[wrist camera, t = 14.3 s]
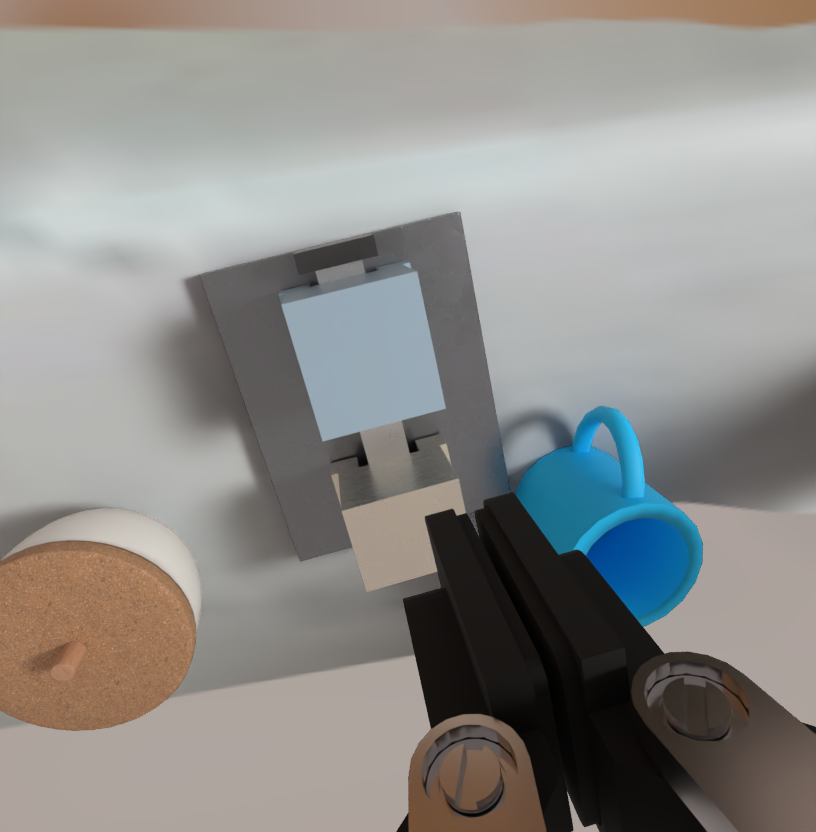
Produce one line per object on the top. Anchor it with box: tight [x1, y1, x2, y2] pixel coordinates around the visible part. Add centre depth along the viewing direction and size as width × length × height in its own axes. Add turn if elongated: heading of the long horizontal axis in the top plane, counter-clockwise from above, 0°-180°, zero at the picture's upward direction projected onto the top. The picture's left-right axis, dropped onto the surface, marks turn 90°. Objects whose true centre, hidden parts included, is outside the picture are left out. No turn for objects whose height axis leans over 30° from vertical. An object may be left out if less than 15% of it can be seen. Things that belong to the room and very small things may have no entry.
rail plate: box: [199, 212, 510, 592], centre depth 30 cm, size 14×18×7 cm
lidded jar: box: [0, 508, 202, 731], centre depth 30 cm, size 11×11×9 cm
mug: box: [515, 406, 703, 627], centre depth 33 cm, size 12×8×8 cm
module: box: [278, 261, 446, 441], centre depth 28 cm, size 7×6×6 cm
